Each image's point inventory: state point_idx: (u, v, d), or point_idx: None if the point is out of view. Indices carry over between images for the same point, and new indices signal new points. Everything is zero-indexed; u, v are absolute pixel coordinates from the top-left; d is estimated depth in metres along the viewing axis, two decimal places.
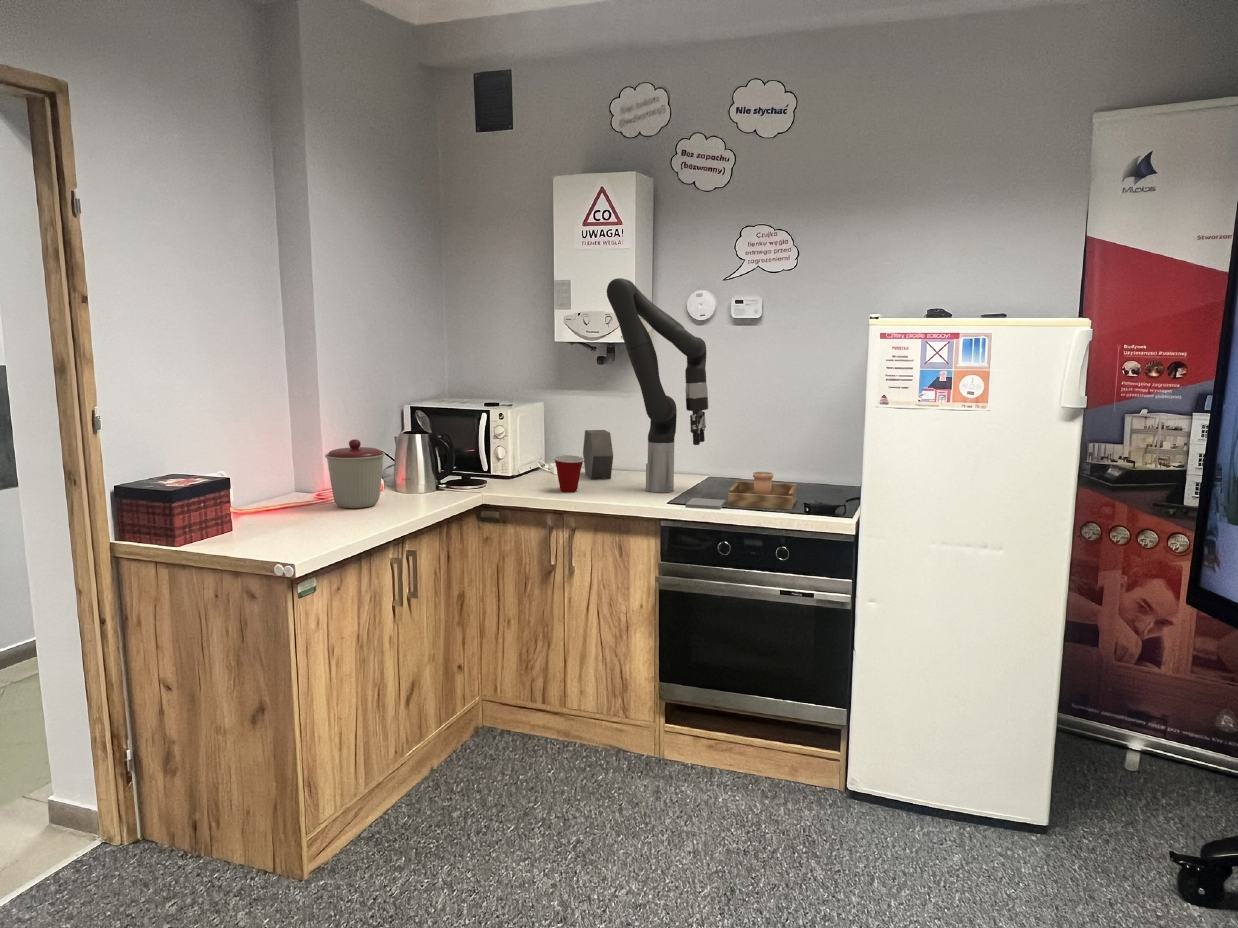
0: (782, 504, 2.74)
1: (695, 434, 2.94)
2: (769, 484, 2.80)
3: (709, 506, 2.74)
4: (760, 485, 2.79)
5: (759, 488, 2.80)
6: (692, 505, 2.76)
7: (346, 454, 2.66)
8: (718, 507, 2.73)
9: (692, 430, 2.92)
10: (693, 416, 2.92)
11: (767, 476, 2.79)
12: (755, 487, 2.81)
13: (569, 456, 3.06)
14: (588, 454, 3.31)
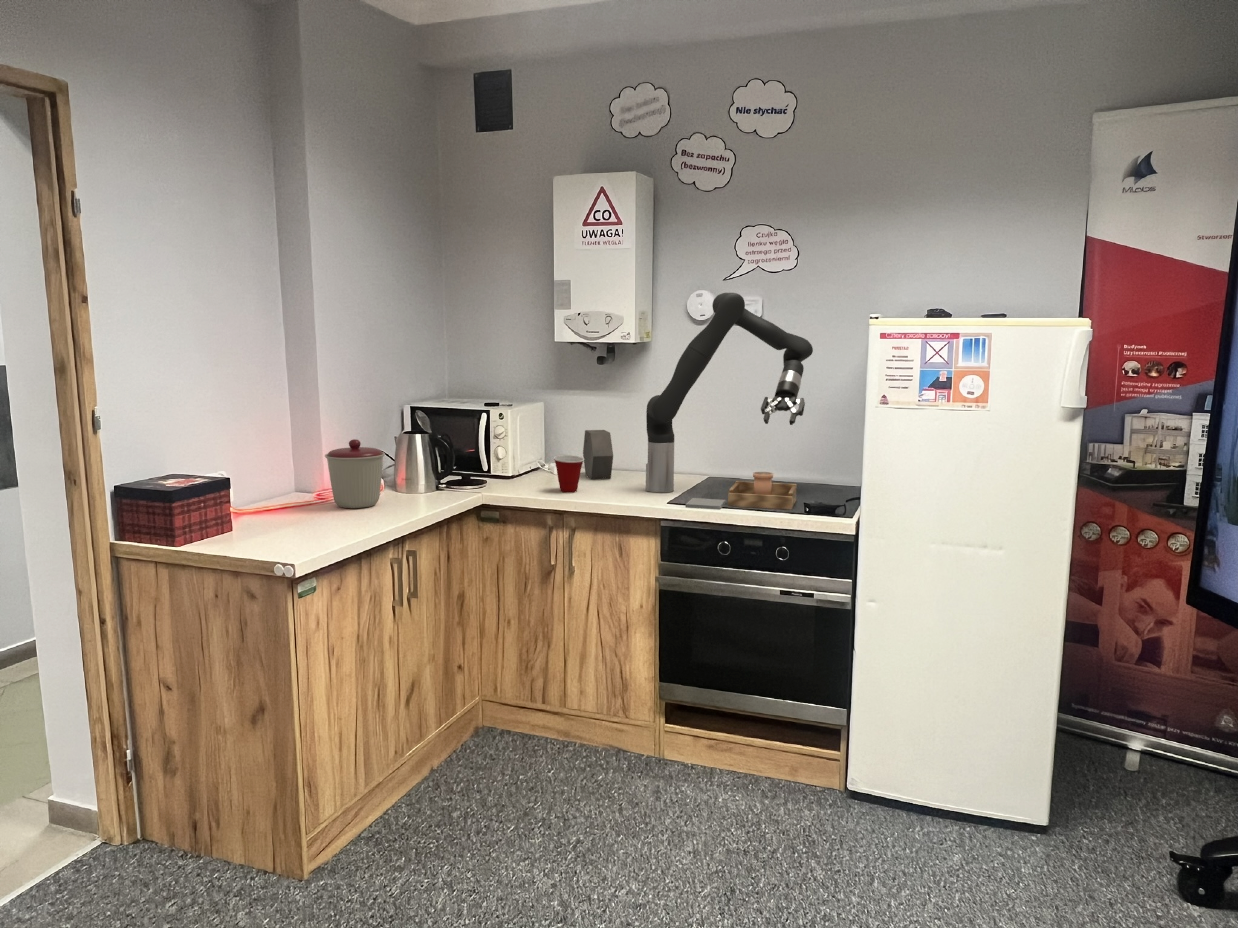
0: (782, 504, 2.74)
1: (796, 415, 2.93)
2: (769, 484, 2.80)
3: (709, 506, 2.74)
4: (760, 485, 2.79)
5: (759, 488, 2.80)
6: (692, 505, 2.76)
7: (346, 454, 2.66)
8: (718, 507, 2.73)
9: (801, 410, 2.92)
10: None
11: (767, 476, 2.79)
12: (755, 487, 2.81)
13: (569, 456, 3.06)
14: (588, 454, 3.31)
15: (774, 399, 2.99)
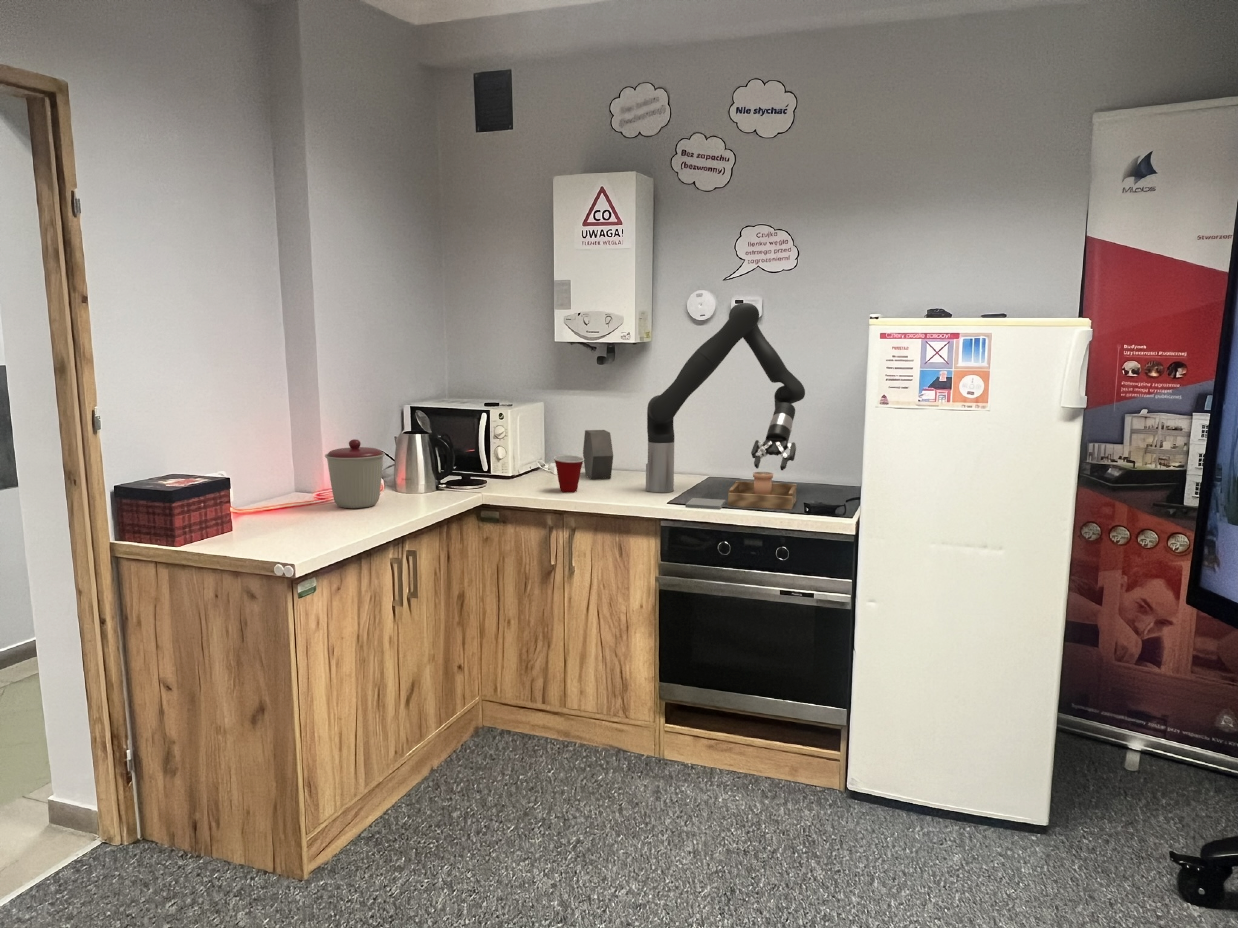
0: (782, 504, 2.74)
1: (787, 460, 2.87)
2: (769, 484, 2.80)
3: (709, 506, 2.74)
4: (760, 485, 2.79)
5: (759, 488, 2.80)
6: (692, 505, 2.76)
7: (346, 454, 2.66)
8: (718, 507, 2.73)
9: (793, 455, 2.86)
10: (795, 445, 2.89)
11: (767, 476, 2.79)
12: (755, 487, 2.81)
13: (569, 456, 3.06)
14: (588, 454, 3.31)
15: (765, 443, 2.93)
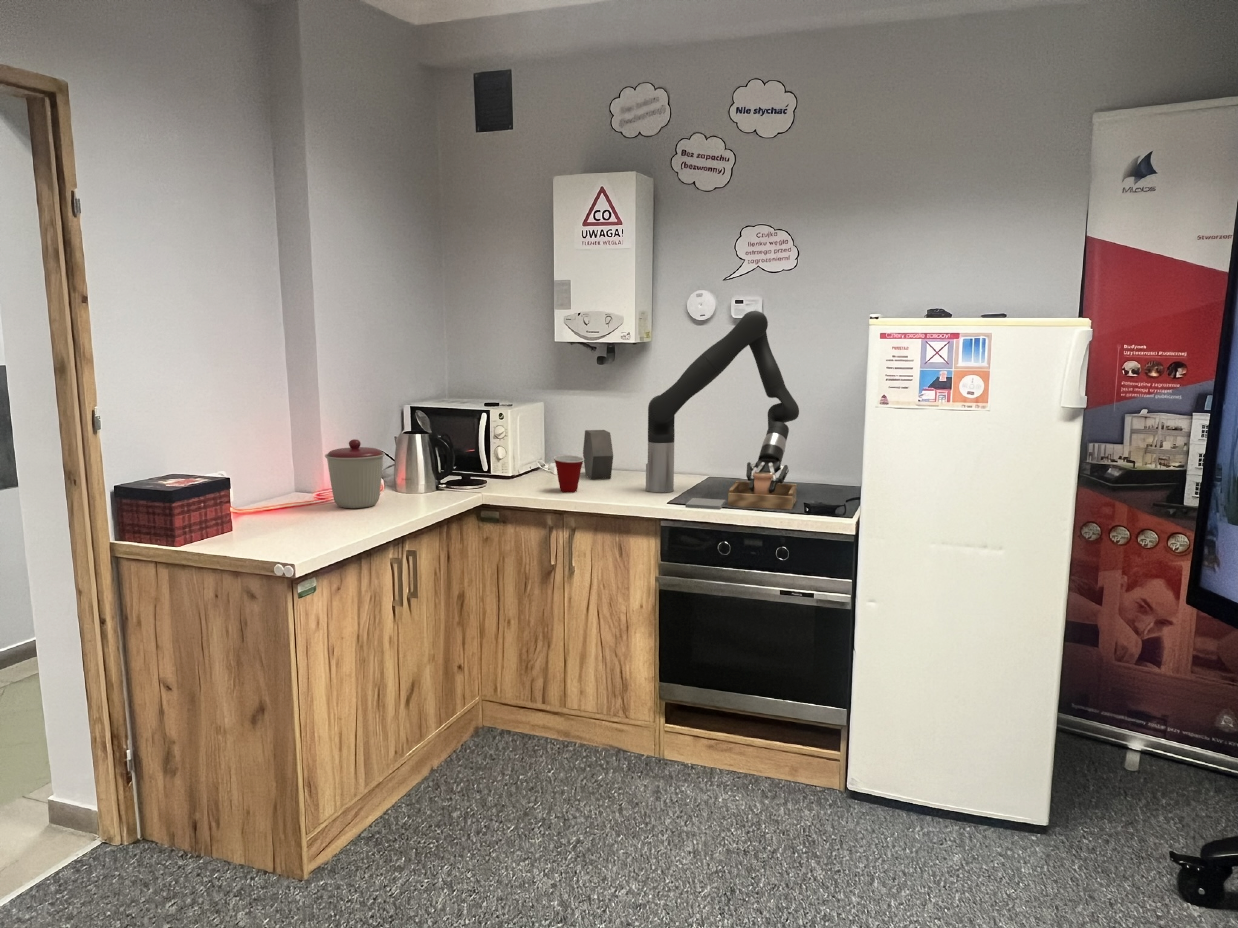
0: (782, 504, 2.74)
1: (776, 483, 2.81)
2: (769, 484, 2.80)
3: (709, 506, 2.74)
4: (760, 485, 2.79)
5: (759, 488, 2.80)
6: (692, 505, 2.76)
7: (346, 454, 2.66)
8: (718, 507, 2.73)
9: (781, 478, 2.80)
10: (787, 468, 2.83)
11: (767, 476, 2.78)
12: (755, 487, 2.81)
13: (569, 456, 3.06)
14: (588, 454, 3.31)
15: (758, 463, 2.86)
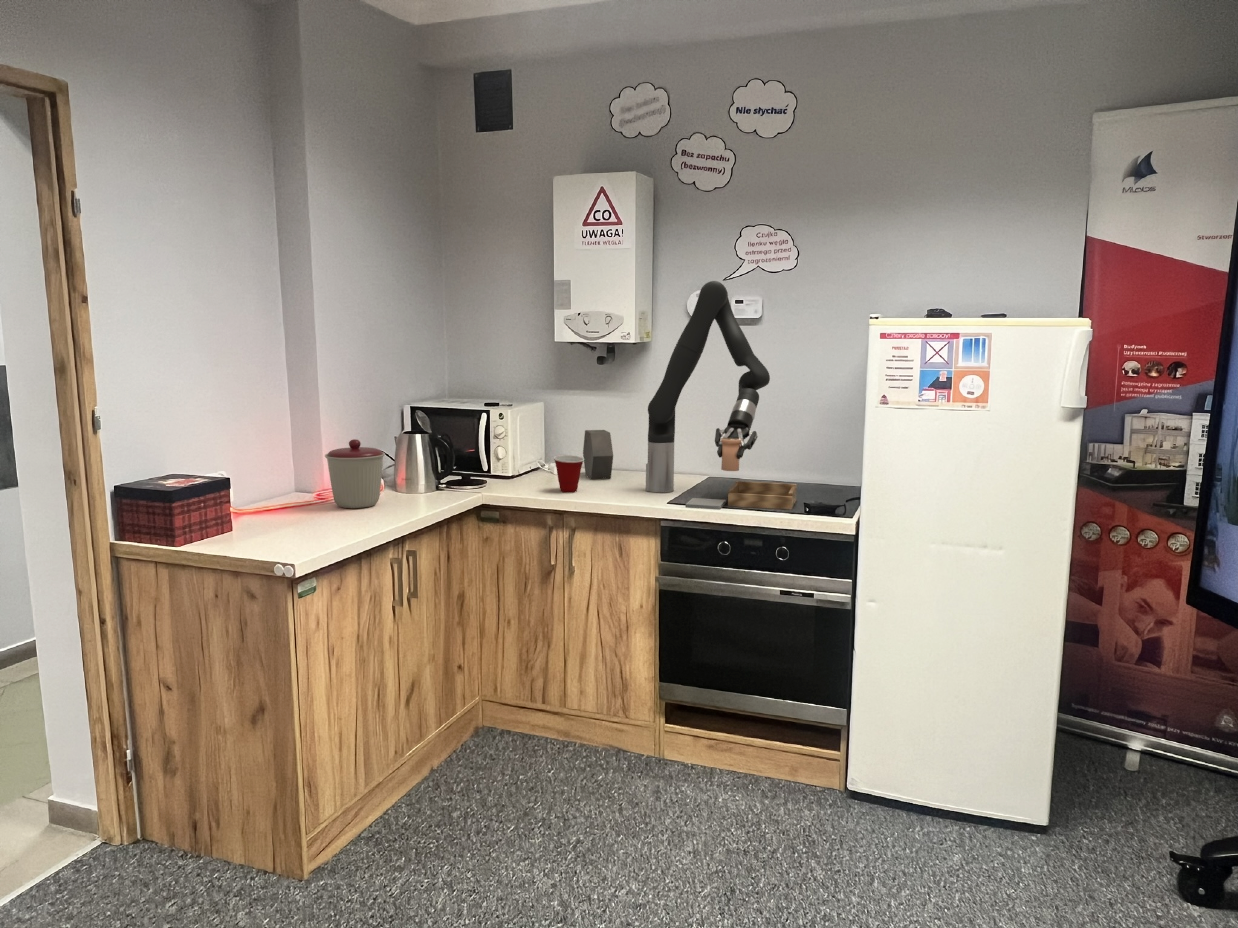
0: (782, 504, 2.74)
1: (744, 448, 2.78)
2: (737, 450, 2.77)
3: (709, 506, 2.74)
4: (728, 450, 2.76)
5: (727, 453, 2.77)
6: (692, 505, 2.76)
7: (346, 454, 2.66)
8: (718, 507, 2.73)
9: (750, 444, 2.77)
10: (756, 434, 2.80)
11: (735, 441, 2.75)
12: (723, 452, 2.78)
13: (569, 456, 3.06)
14: (588, 454, 3.31)
15: (726, 429, 2.83)
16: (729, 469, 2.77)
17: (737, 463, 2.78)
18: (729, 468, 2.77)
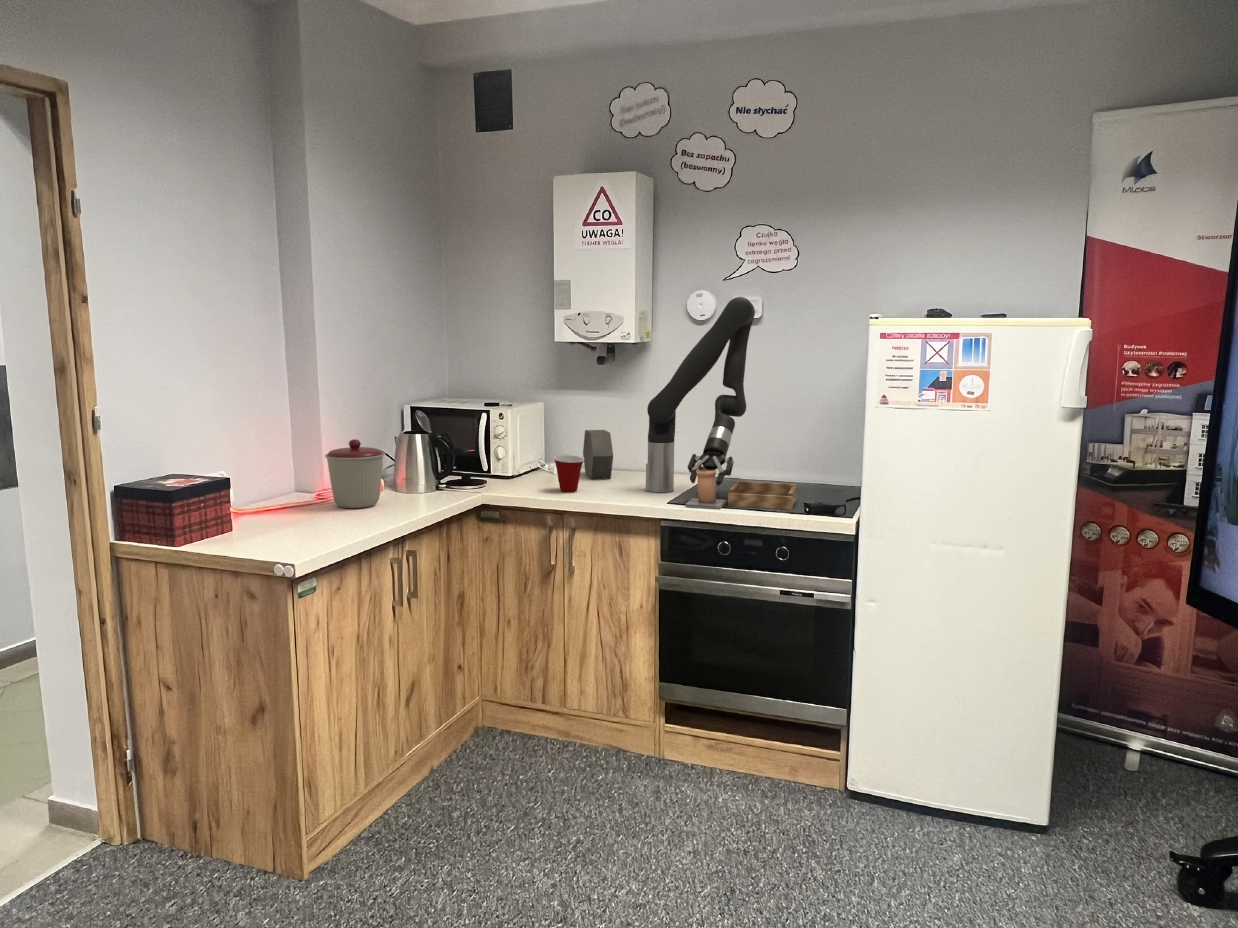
0: (782, 504, 2.74)
1: (723, 475, 2.77)
2: (712, 481, 2.77)
3: (709, 506, 2.74)
4: (703, 482, 2.77)
5: (703, 485, 2.77)
6: (692, 505, 2.76)
7: (346, 454, 2.66)
8: (718, 507, 2.73)
9: (729, 470, 2.77)
10: (732, 459, 2.80)
11: (710, 473, 2.76)
12: (699, 485, 2.79)
13: (569, 456, 3.06)
14: (588, 454, 3.31)
15: (702, 457, 2.83)
16: (706, 501, 2.78)
17: (713, 494, 2.78)
18: (706, 500, 2.78)
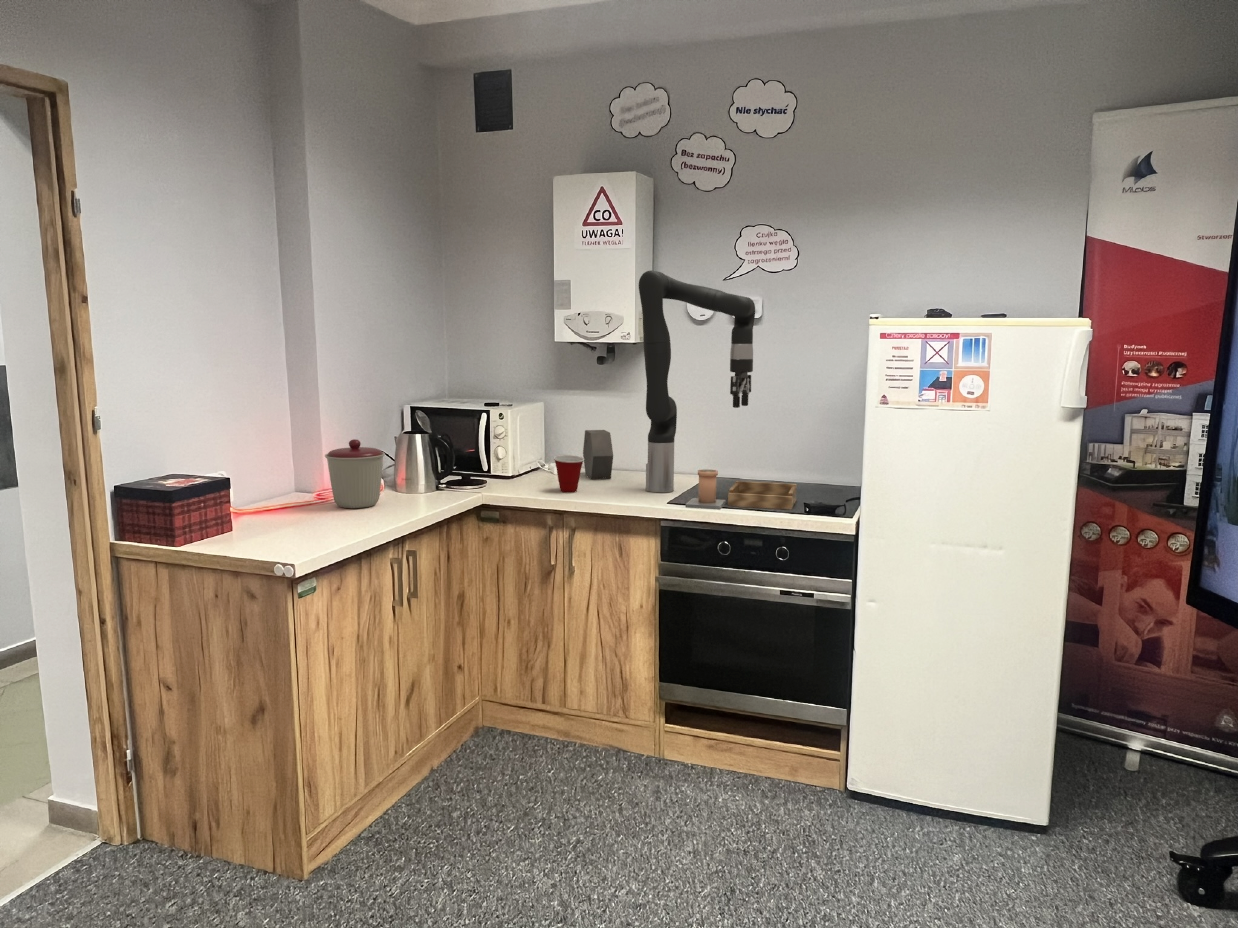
0: (782, 504, 2.74)
1: (735, 396, 2.86)
2: (713, 482, 2.77)
3: (709, 506, 2.74)
4: (704, 482, 2.77)
5: (704, 486, 2.77)
6: (692, 505, 2.76)
7: (346, 454, 2.66)
8: (718, 507, 2.73)
9: (731, 392, 2.85)
10: (734, 377, 2.84)
11: (711, 474, 2.76)
12: (700, 485, 2.78)
13: (569, 456, 3.06)
14: (588, 454, 3.31)
15: None
16: (706, 501, 2.78)
17: (714, 495, 2.78)
18: (706, 500, 2.78)
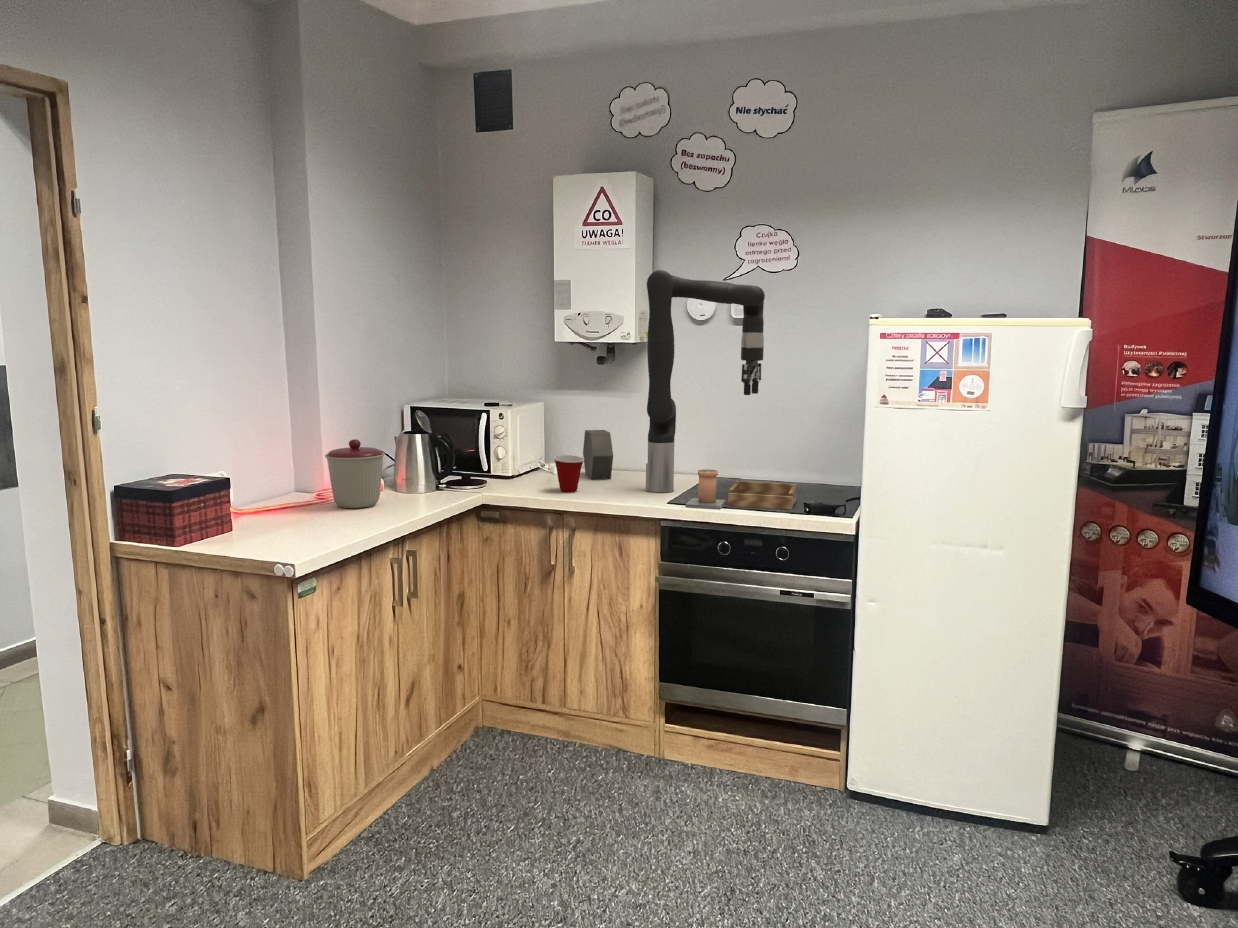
0: (782, 504, 2.74)
1: (746, 384, 2.92)
2: (713, 482, 2.77)
3: (709, 506, 2.74)
4: (704, 482, 2.77)
5: (704, 486, 2.77)
6: (692, 505, 2.76)
7: (346, 454, 2.66)
8: (718, 507, 2.73)
9: (743, 379, 2.90)
10: (745, 365, 2.89)
11: (711, 474, 2.76)
12: (700, 485, 2.78)
13: (569, 456, 3.06)
14: (588, 454, 3.31)
15: None
16: (706, 501, 2.78)
17: (714, 495, 2.78)
18: (706, 500, 2.78)
